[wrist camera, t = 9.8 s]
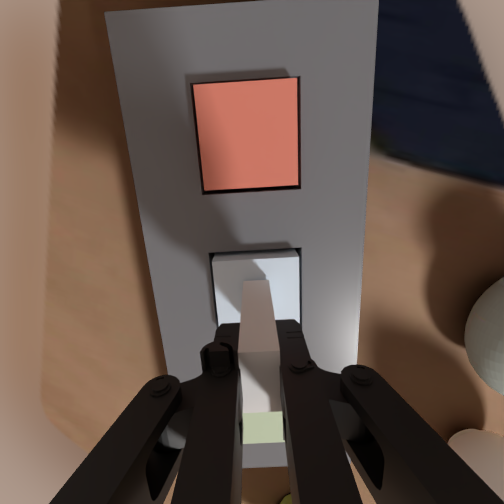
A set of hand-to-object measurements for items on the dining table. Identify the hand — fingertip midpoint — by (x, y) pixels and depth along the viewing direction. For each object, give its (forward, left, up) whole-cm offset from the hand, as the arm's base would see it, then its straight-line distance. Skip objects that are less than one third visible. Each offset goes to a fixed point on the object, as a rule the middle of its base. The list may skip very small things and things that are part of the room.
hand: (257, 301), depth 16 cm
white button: (0, 0, -3) cm, 3 cm away
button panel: (0, 0, -5) cm, 5 cm away
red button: (-9, 0, -3) cm, 10 cm away
